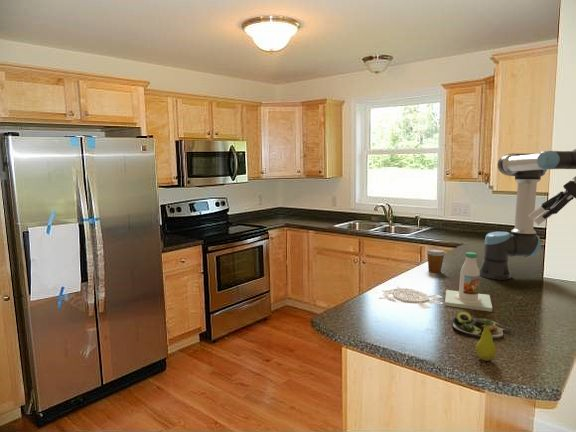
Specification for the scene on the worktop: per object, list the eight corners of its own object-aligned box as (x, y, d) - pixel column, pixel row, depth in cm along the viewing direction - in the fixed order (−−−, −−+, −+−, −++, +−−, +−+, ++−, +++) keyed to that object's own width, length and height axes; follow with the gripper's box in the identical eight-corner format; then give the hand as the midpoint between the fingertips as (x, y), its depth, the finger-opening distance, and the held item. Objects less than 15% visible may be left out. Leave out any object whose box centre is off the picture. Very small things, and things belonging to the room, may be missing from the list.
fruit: (492, 366, 121) (495, 328, 120) (472, 360, 125) (474, 322, 124) (497, 359, 126) (500, 322, 124) (478, 353, 130) (480, 317, 128)
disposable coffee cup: (436, 268, 231) (437, 248, 230) (447, 273, 223) (448, 251, 221) (421, 270, 228) (423, 249, 227) (433, 274, 220) (434, 252, 218)
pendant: (391, 286, 200) (391, 283, 200) (450, 298, 183) (450, 295, 183) (371, 297, 183) (371, 294, 183) (434, 312, 166) (434, 309, 166)
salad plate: (507, 325, 153) (508, 313, 153) (513, 344, 137) (515, 331, 136) (452, 317, 161) (453, 306, 160) (451, 334, 144) (452, 322, 144)
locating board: (446, 292, 189) (446, 289, 189) (489, 298, 182) (489, 294, 182) (444, 305, 173) (445, 301, 172) (492, 311, 166) (492, 307, 165)
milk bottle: (455, 298, 177) (458, 253, 174) (462, 293, 183) (465, 250, 180) (474, 302, 172) (477, 255, 169) (480, 297, 177) (483, 253, 175)
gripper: (594, 195, 155) (545, 231, 162) (577, 191, 177) (534, 222, 185) (579, 181, 156) (531, 217, 164) (564, 178, 179) (522, 210, 187)
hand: (532, 220), depth 174 cm, fingers open, 13 cm apart
